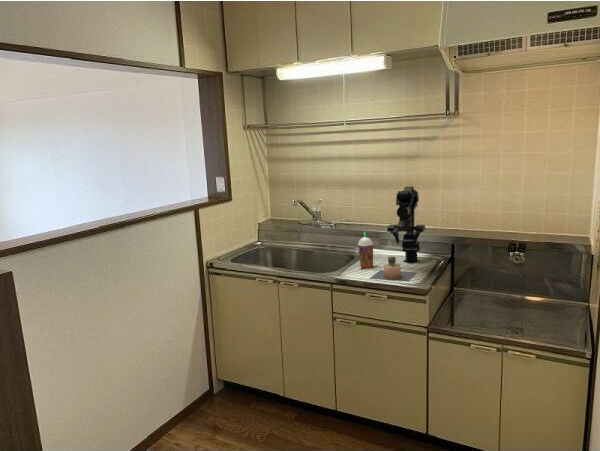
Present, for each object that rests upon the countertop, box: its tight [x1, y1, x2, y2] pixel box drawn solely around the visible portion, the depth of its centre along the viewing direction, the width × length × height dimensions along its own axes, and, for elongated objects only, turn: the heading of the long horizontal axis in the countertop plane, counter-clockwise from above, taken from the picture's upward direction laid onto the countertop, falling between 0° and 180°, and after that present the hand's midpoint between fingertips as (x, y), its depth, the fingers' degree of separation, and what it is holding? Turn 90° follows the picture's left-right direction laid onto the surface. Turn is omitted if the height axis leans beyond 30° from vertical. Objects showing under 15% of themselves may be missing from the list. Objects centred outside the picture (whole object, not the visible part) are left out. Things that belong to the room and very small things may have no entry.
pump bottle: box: [383, 262, 402, 279], centre depth 222 cm, size 8×8×7 cm
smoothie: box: [357, 231, 374, 270], centre depth 244 cm, size 8×8×20 cm
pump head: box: [387, 256, 397, 264], centre depth 220 cm, size 6×4×4 cm, turn 151°
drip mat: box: [368, 269, 419, 282], centre depth 225 cm, size 20×16×1 cm
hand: (406, 244), depth 236 cm, fingers open, 9 cm apart
